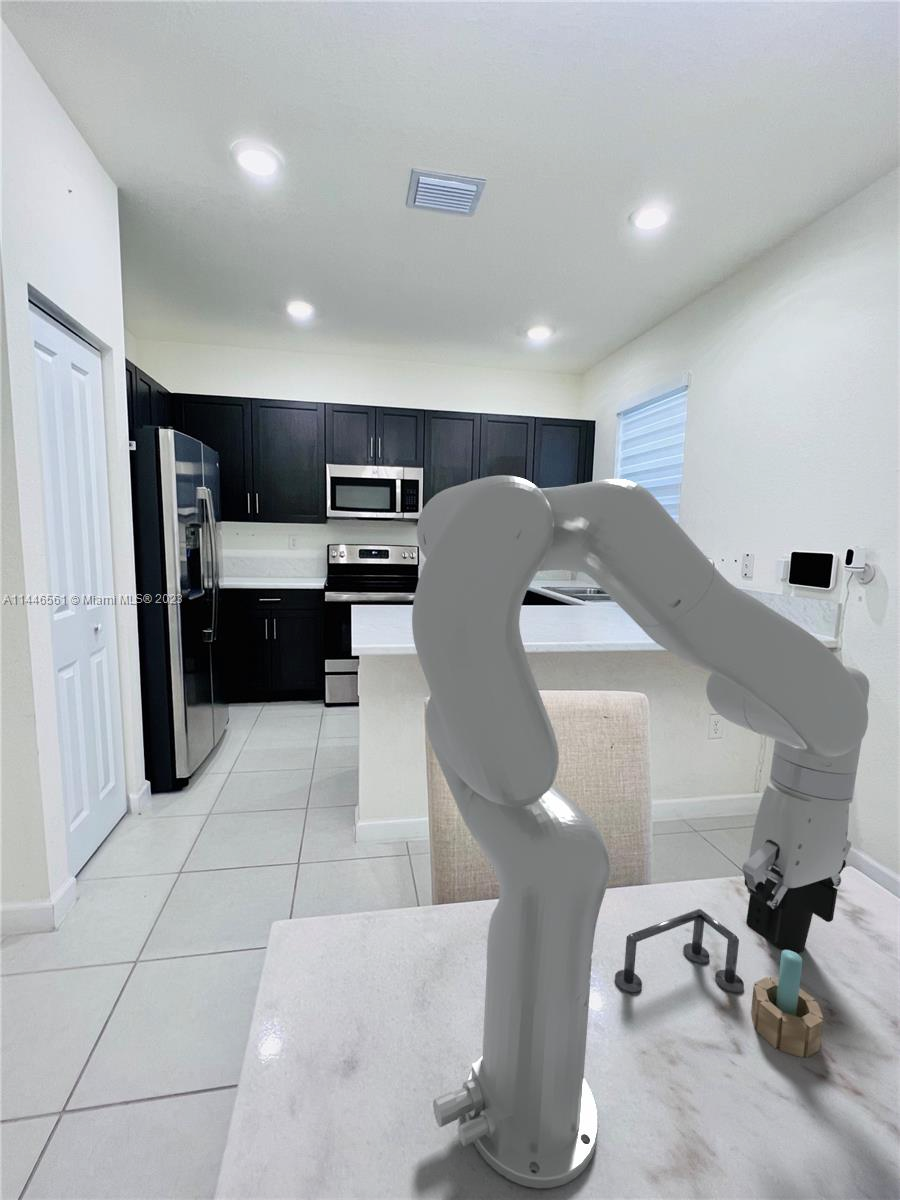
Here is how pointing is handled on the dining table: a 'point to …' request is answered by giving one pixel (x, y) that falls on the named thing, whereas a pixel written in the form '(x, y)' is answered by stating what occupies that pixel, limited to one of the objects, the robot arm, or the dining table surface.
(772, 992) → the ring
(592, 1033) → the dining table surface
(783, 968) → the peg
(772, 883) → the drinking cup
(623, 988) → the corner grab bar
